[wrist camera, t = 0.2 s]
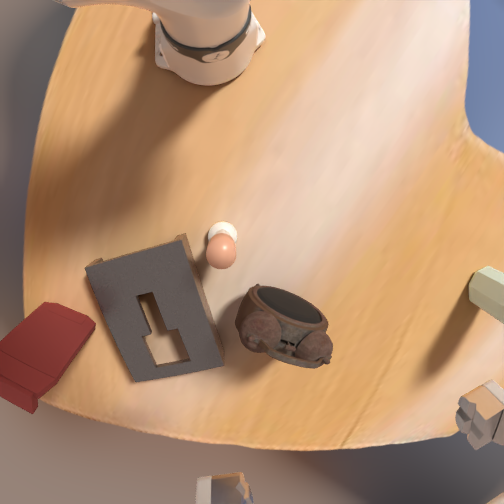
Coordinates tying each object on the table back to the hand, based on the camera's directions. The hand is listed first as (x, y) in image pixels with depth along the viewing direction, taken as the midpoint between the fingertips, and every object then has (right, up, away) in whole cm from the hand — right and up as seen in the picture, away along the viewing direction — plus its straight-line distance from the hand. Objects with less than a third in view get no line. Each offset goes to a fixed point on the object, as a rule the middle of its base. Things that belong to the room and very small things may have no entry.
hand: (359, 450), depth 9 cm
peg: (-9, +10, +46) cm, 48 cm away
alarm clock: (+1, -2, +50) cm, 50 cm away
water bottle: (+50, -1, +53) cm, 73 cm away
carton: (-40, -7, +49) cm, 63 cm away
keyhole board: (-21, -4, +49) cm, 53 cm away
